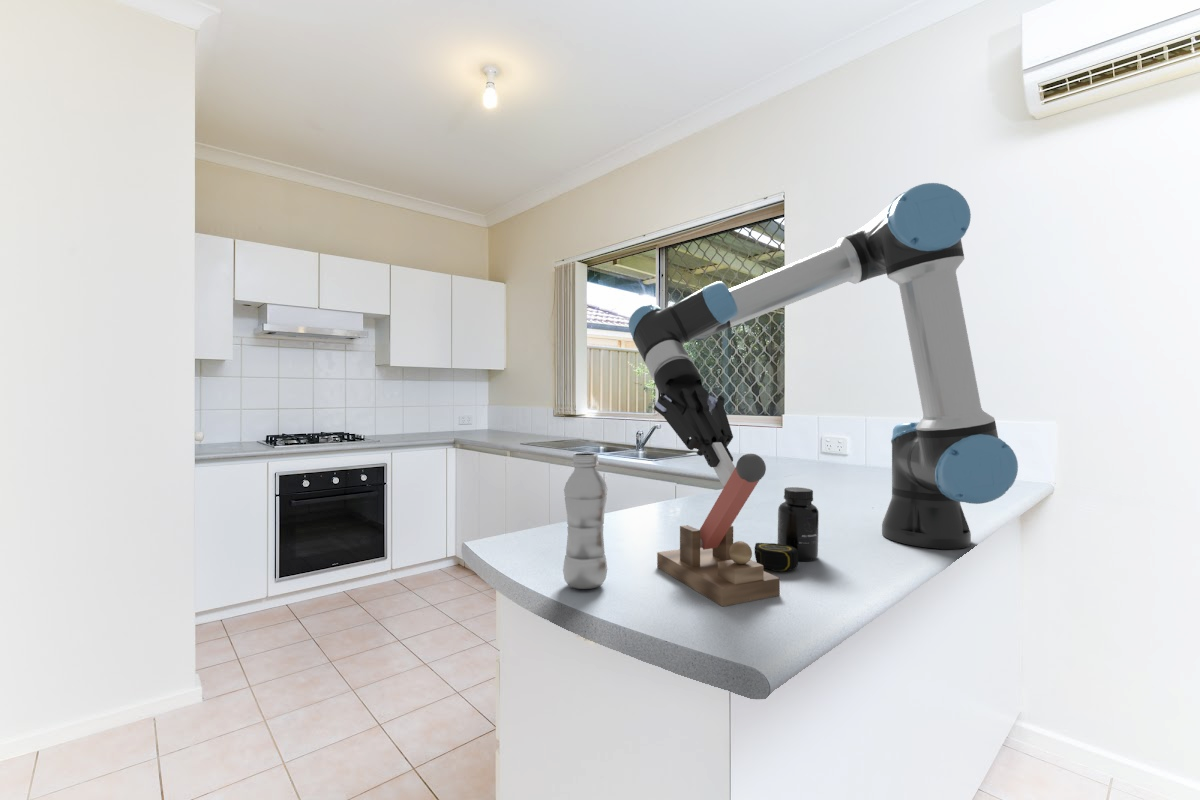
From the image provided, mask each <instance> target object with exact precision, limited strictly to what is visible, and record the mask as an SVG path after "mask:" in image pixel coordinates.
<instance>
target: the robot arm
mask: <svg viewBox="0 0 1200 800" xmlns="http://www.w3.org/2000/svg"><path fill="white" fill-rule="evenodd" d="M971 215H972V214H971V208H970V205H969V203H968V201H967V199H966V198H965V197H964V196H963V195H962V193H961V192H959V191H958V190H956V188H955V189H954V188H953V187H950V186H949V185H946V184H944V183H939V182H927V183H921V184H918V185H915V186H913V187H911V188H909V189H907V190H906V191H904V192H903V193H901V194H899V195H897V196H895V198H894V199H893V200H892V202H890V204H889V205H888V206H887V207H885V208H884V209H883V210H882V211H880V213H878V214H877V215H876V216H875V217H874V218H872V219H871V220H870V221H869V222H868V223H866V224H865V225H864V226H862V227H860V228H859V229H857V230H855V231H854V232H851V233H849V234H848V235H845V236H842V237H841V238H839V239H838V240H837V242H836V244H835V245H834V246H832V247H830V248H826V249H824V250H822V251H820V252H817V253H813V254H812V255H809V256H808V257H804V258H803V259H799V260H798V261H795V262H792V263H790V264H788V265H786V266H782V267H780V268H777V269H775V270H773V271H770V272H767V273H765V274H763V275H760V276H757V277H755V278H753V279H750V280H748V281H746V282H743V283H741V284H738V285H736V286H733V287H731V288H729V287H728V286H727V285H726V283H724V282H723V281H720V280H719V281H715V282H713V283H710V284H708V285H705V286H703V287H702V288H701V289H699V290H697V291H695V292H694V293H692V294H690V295H688V296H686V297H685V298H683V299H681V300H678V301H677V302H675V303H674V304H672V305H669V306H667V307H665V308H663V309H662V307H660V306H658V305H657V304H647V305H642V306H640V307H638V308H637V309H635V310H634V312H633V313H632V314H631V316H630V318H629V320H628V329H629V332H630V335H631V338H632V341H633V342H634V345H635V346H636V348H637V350H638V352H639V355H640V356H641V357H642V361H643V362H644V364H645V366H646V368H647V371H648V372H649V375H650V376H651V378H652V380H653V381H654V385H655V386H656V389H657V390H658V393H659V395H660V396H659V397H658V398H657V400H656V403H655V405H654V406H653V409H654V410H655V411H656V412H657V413H658V414H659V415H660V416H662V417H663V418H664V419H665V421H666V423H668V424H669V426H670V427H671V428H672V430H673V431H674V432H675V434H676V435H677V436H678V437H679V439H680V440H681V442H682V443H683V444H684V445H685V447H686V448H687V449H689V450H690V451H693V450H695V449H696V450H698V451H696V454H697V456H700V457H701V456H703V457H704V459H705V461H706V463H707V465H708V466H709V467H710V468H713V470H714V472H715V473H716V476H717V479H718V480H719V481H720V484H721V486H722V487H723V488H724V487H725V485H726V483H727V481H728V480H729V478H730V476H731V474H732V473H733V471H734V469H735V467H736V466H735V464H734V463H733V461H734V456H733V455H732V454H731V452H730V450H729V448H728V446H729V444H730V443H731V442H732V440H733V439H734V434H733V432H732V428H731V425H730V422H729V420H728V415H727V413H726V410H725V398H724V397H723V396H722V395H718V396H717V398H716V397H714V396H711V395H710V392H709V391H708V390H707V389H706V388H705V387H704V386H703V383H702V378H701V376H702V375H701V374H700V373H699V371H698V369H697V367H696V366H695V364H694V362H693V361H692V359H691V357H690V355H689V354H688V351H686V348H685V347H684V345H685V344H688V343H689V342H691V341H692V340H695V341H703V340H706V339H709V338H711V337H712V336H713V335H715V334H718V333H721V332H724V331H725V330H728V329H730V328H733V327H736V326H738V325H740V324H742V323H743V324H744V323H745V322H748V321H751V320H753V319H756V318H759V317H760V316H763V315H766V314H768V313H769V314H770V313H771V312H774V311H775V310H776V311H777V310H778V309H781V308H784V307H786V306H789V305H791V304H794V303H797V302H799V301H801V300H804V299H806V298H810V297H812V296H814V295H817V294H819V293H822V292H824V291H827V290H829V289H831V288H835V287H838V286H840V285H842V284H844V283H847V282H849V283H852V284H854V285H856V284H859V283H862V282H863V281H867V280H869V279H872V278H877V277H880V276H883V275H887V279H889V280H890V281H892V282H894V283H896V284H897V285H898V286H899V287H898V288H899V291H900V293H899V294H900V298H901V303H902V309H903V314H904V317H905V325H906V330H907V335H908V340H909V345H910V351H911V356H912V362H913V365H914V366H913V367H914V372H915V376H916V377H915V378H916V382H917V387H918V392H919V398H920V404H921V405H920V406H921V410H922V418H921V420H920V421H919V422H918V421H917V422H905V423H904V422H903V423H899V424H896V425H895V426H894V427H893V429H892V436H891V437H892V438H891V440H890V443H891V499H890V501H889V504H888V507H887V509H886V512H885V514H884V517H883V520H882V523H881V535H882V536H883V537H884V538H886V539H888V540H891V541H894V542H896V543H899V544H900V543H901V544H904V545H908V546H914V547H921V548H928V549H936V550H937V549H941V550H958V549H959V550H960V549H964V548H965V549H966V548H968V547H970V546H971V544H972V542H971V541H972V533H971V530H970V527H969V525H968V521H967V518H966V516H965V514H964V511H963V508H962V505H961V503H965V504H973V505H977V504H986V503H990V502H993V501H996V500H997V499H999V498H1001V497H1002V496H1004V495H1005V494H1006V492H1008V490H1009V489H1010V488H1012V486H1013V485H1014V483H1015V481H1016V479H1017V477H1018V471H1019V470H1018V469H1019V463H1018V458H1017V455H1016V453H1015V452H1014V450H1013V449H1012V448H1011V446H1010V445H1009V444H1007V443H1006V442H1005V441H1004V440H1003V439H1001V438H999V435H998V430H997V424H996V420H995V417H994V416H992V415H990V414H989V413H988V412H985V411H984V410H983V408H982V404H981V400H980V399H981V397H980V394H979V393H980V392H979V388H978V387H979V386H978V382H977V378H976V373H975V372H976V371H975V366H974V362H973V361H974V360H973V357H972V352H971V346H970V341H969V334H968V330H967V329H968V328H967V323H966V319H965V315H964V308H963V303H962V298H961V292H960V287H959V281H958V277H957V269H959V267H960V265H961V264H962V263H963V262H964V260H965V254H964V249H963V242H962V238H963V237H964V236H965V235H966V233H967V231H968V229H969V226H970V222H971V218H972V217H971Z"/></svg>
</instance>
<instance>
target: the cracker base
mask: <svg viewBox="0 0 1200 800" xmlns="http://www.w3.org/2000/svg"><path fill="white" fill-rule="evenodd" d="M656 553H657V555H656V557H657V558H656V559H657V560H656V561H657V562H656V563H657V568H658V569H659V570H661V571H663V572H664V573H666V574H668V575H669V576H671V577H673V578H675V580H678V581H679V582H681V583H683V584H684V585H686V586H688V587H689V588H691V589H692V590H694V591H696V592H697V593H700V594H701V595H702V596H704V597H705V598H708V599H709V600H711V601H713V602H714V603H716V604H717V605H719V606H721V607H725V606H731V605H737V604H743V603H748V602H753V601H757V600H763V599H768V598H773V597H779V596H781V594H780V593H781V592H780V588H781V587H780V586H781V583H780V582H781V579H780V577H778V576H776V575H775V574H772V573H769V572H767V571H764V569H765V568H764V566H763V565H761V564H759V563H757V562H756V561H755V560H751V558H752V556H753V551H752V548H751V546H750V545H749V544H748V543H746V542H745V541H741V540H739V541H735V542H734V526H733V525H731V526H730V528H729V530H728V531H727V533H726V534H725V536H724V538H723V539H722V541H721V542H720V544H719V546H718V547H717V548H712V549H704V550H703V548H700V529H698V528H696V527H693V526H691V525H689V524H685V525H680V526H679V549H673V550H672V549H670V550H666V551H657V552H656Z"/></svg>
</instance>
